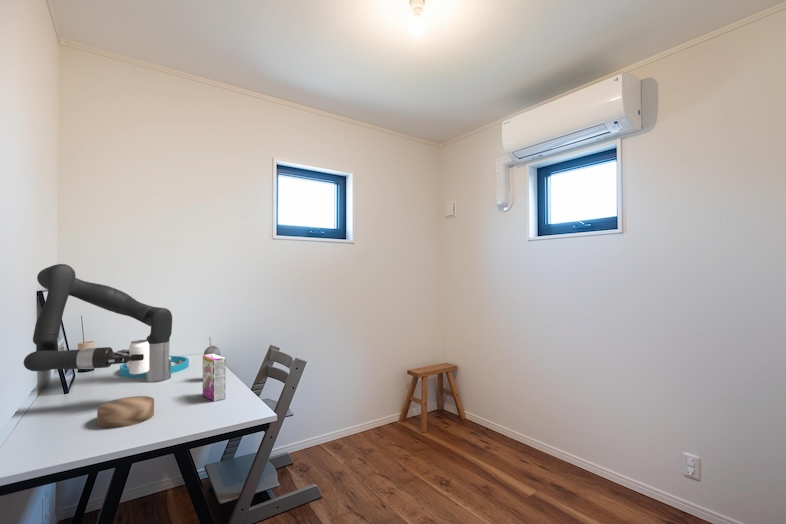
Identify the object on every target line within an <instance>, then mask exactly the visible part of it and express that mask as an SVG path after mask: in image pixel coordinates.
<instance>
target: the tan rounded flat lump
mask: <svg viewBox="0 0 786 524" xmlns="http://www.w3.org/2000/svg"><path fill="white" fill-rule="evenodd" d="M96 410H97V411H96V412H97V414H96V415H97V417H96V420H97V421H96V422H97V423H96V424H97V427H99V428H103V429H115V428H116V429H117V428H124V427H130V426H133V425H137V424H141V423H143V422H146V421H148V420H150V419H151V418H153V417H154V415H155V398H154V397H151V396H145V395H138V396H137V395H136V396H126V397H122V398H121V397H120V398H117V399H112V400H109V401H106V402H103V404H100V405H99V406H98V407H97V409H96ZM152 416H153V417H152Z"/></svg>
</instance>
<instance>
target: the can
mask: <svg viewBox="0 0 786 524" xmlns="http://www.w3.org/2000/svg"><path fill="white" fill-rule="evenodd" d="M128 347H129V348H128V350H129V354H130V355H136V354H143V355H144V359H143V360H139V361H132V360H131V362H129V373H130V374H133V375H135V374H143V373H146V372H148V371H149V343H148V340H146V339H138V340H132V341H130V344H129V346H128Z"/></svg>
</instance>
